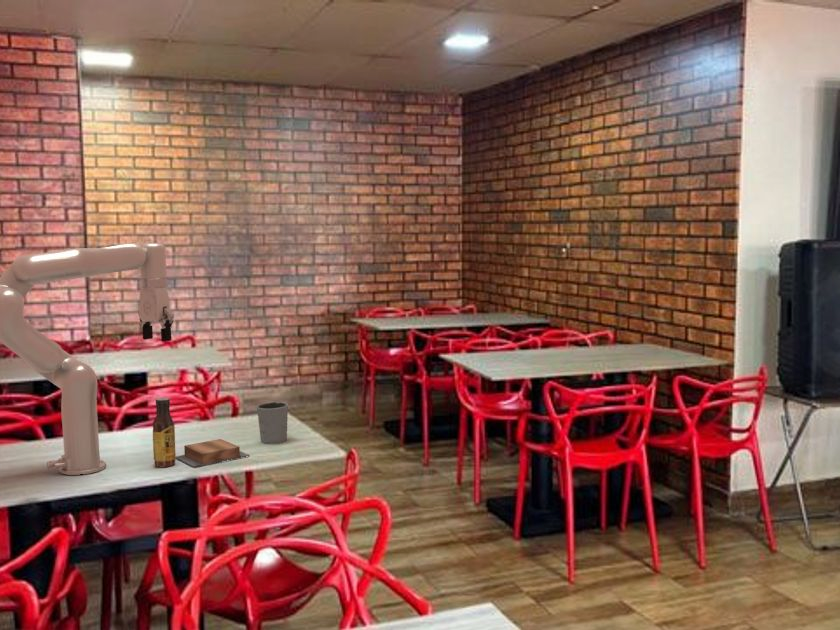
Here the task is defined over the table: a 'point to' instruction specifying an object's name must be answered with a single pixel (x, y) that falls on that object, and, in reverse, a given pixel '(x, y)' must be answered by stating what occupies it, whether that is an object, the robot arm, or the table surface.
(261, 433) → the grey cup
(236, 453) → the brown block with base
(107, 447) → the table surface
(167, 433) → the sauce bottle
